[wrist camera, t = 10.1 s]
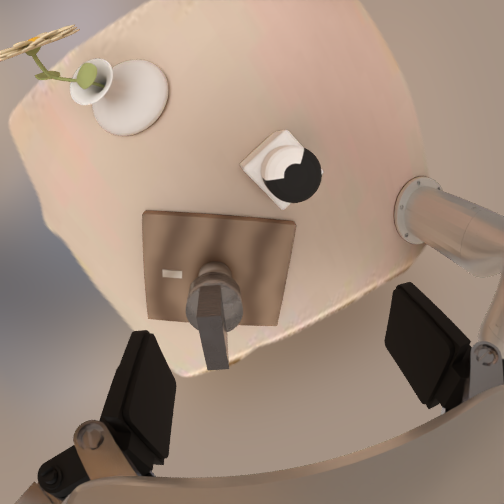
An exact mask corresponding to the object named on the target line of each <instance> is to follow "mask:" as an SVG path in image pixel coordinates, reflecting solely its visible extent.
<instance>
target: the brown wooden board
mask: <svg viewBox="0 0 504 504" xmlns="http://www.w3.org/2000/svg"><path fill="white" fill-rule="evenodd" d="M295 230H296V224H295V223H294V222H293V221H286V220H276V219H265V218H253V217H241V216H228V215H215V214H200V213H185V212H168V211H148V210H146V211H145V212H144V213H143V214H142V233H143V261H144V278H145V291H146V302H147V312H148V319H156V320H166V321H178V322H189V321H188V319H187V316H186V312H185V311H186V303H187V297H188V292H189V288H190V285H191V283H192V282H193V281H194V280H195V279H196V278H197V277H198V276H200V275H202V274H204V273H208V272H220V273H224V274H227V275H229V276H230V277H232V278H233V279H234V280H235V281H236V282H237V284H238V285H239V288H240V292H241V299H242V306H243V316H242V319H241V321H240V323H239V324H238V325H254V326H277V324H278V319H279V314H280V309H281V304H282V299H283V294H284V289H285V284H286V279H287V274H288V269H289V263H290V258H291V253H292V247H293V242H294V236H295Z"/></svg>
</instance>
